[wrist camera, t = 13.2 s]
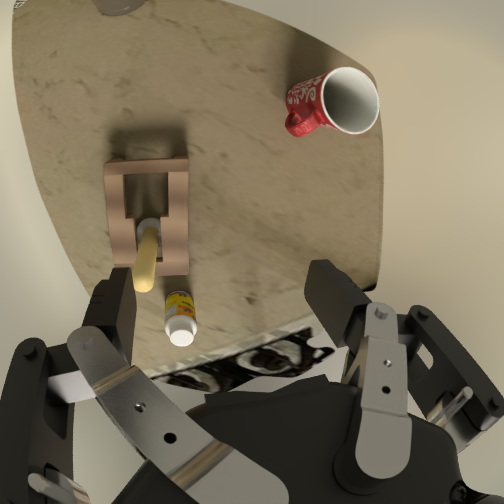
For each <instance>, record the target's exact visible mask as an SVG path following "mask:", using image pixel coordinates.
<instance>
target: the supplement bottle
mask: <svg viewBox="0 0 504 504" xmlns="http://www.w3.org/2000/svg"><path fill="white" fill-rule="evenodd" d="M165 331H166V333H167V334H168V336H170V340H171V342H172V343H173V344H175V345H177V346H187V345H189V344H191V343H192V341H193V339H194V335H195V333H196V331H197V323H196V316H195V308H194V301H193V298H192V297H191V296H190V295H189V294H188V293H186V292H183V291H175V292H172V293H171V294H169V295H168V296H167V298H166V300H165Z"/></svg>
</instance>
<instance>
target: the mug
mask: <svg viewBox="0 0 504 504" xmlns="http://www.w3.org/2000/svg"><path fill="white" fill-rule="evenodd" d="M286 106H287V109H288V112H289V115H288V117H287V119H286V122H285V127H286V129H287V130H288V131H289V133H290V134H291V135H293V136H295V137H301V136H304V135H307V134H309V133H310V132H312V131H313V130H315V129H316V128H317V127H318V126H322V127H327V128H332V129H336V130H340V131H343V132H345V133H348V134H360V133H363V132H365V131H367V130H368V129H370V128H371V127H372V126H373V124H374V123H375V121H376V119H377V117H378V113H379V97H378V93H377V90H376V88H375V86H374V84H373V82H372V81H371V80H370V78H369V77H368V76H367V75H366V74H364V73H363V72H362V71H360V70H358V69H356V68H353V67H349V66H342V67H337V68H335V69H333V70H331V71H330V72H328V73H325V74H322V75H319V76H317V77H314V78H311V79H309V80H306V81H304V82H301V83H298V84H296V85H294V86H293V87H292V88H291V89H290V90H289V92H288V94H287V97H286ZM298 121H299V122H300V123H297V122H298Z"/></svg>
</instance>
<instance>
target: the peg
mask: <svg viewBox="0 0 504 504" xmlns="http://www.w3.org/2000/svg"><path fill="white" fill-rule="evenodd" d="M136 233H137V240H138V241H139V243H140V245H139V248H138V252H137V256H136V260H135V264H134V268H133V272H132V278H133V284H134V289H135V290H136V291H139V292H147V291H149V290H150V289H151V288H152V287H153V283H154V273H155V265H156V257H157V249H158V247H159V246H161V245H162V240H161V221H160V220H159V219H157V218H153V217H150V218H146V219H144V220H142V221H141V222H140V224H139V225H138V228H137V231H136Z"/></svg>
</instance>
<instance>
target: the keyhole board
mask: <svg viewBox="0 0 504 504" xmlns="http://www.w3.org/2000/svg"><path fill="white" fill-rule="evenodd" d="M188 167H189V158H188V155H175V157H174V158H161V159H140V160H124V158H114V159H111V160H109V161H107V162H106V163H104V180H105V195H106V207H107V217H108V225H109V233H110V241H111V248H112V254H113V260H114V266H115V268H116V267H130V268H131V271H132V272H133V268H134V264H135V260H136V256H137V252H138V243H137V233H136V221H135V215H127V208H126V192H125V174H139V173H160V172H168V199H169V214H161V216H160V221H161V240H162V254H163V257H158V258H156V265H155V273H154V276H169V275H189V259H188Z"/></svg>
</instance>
